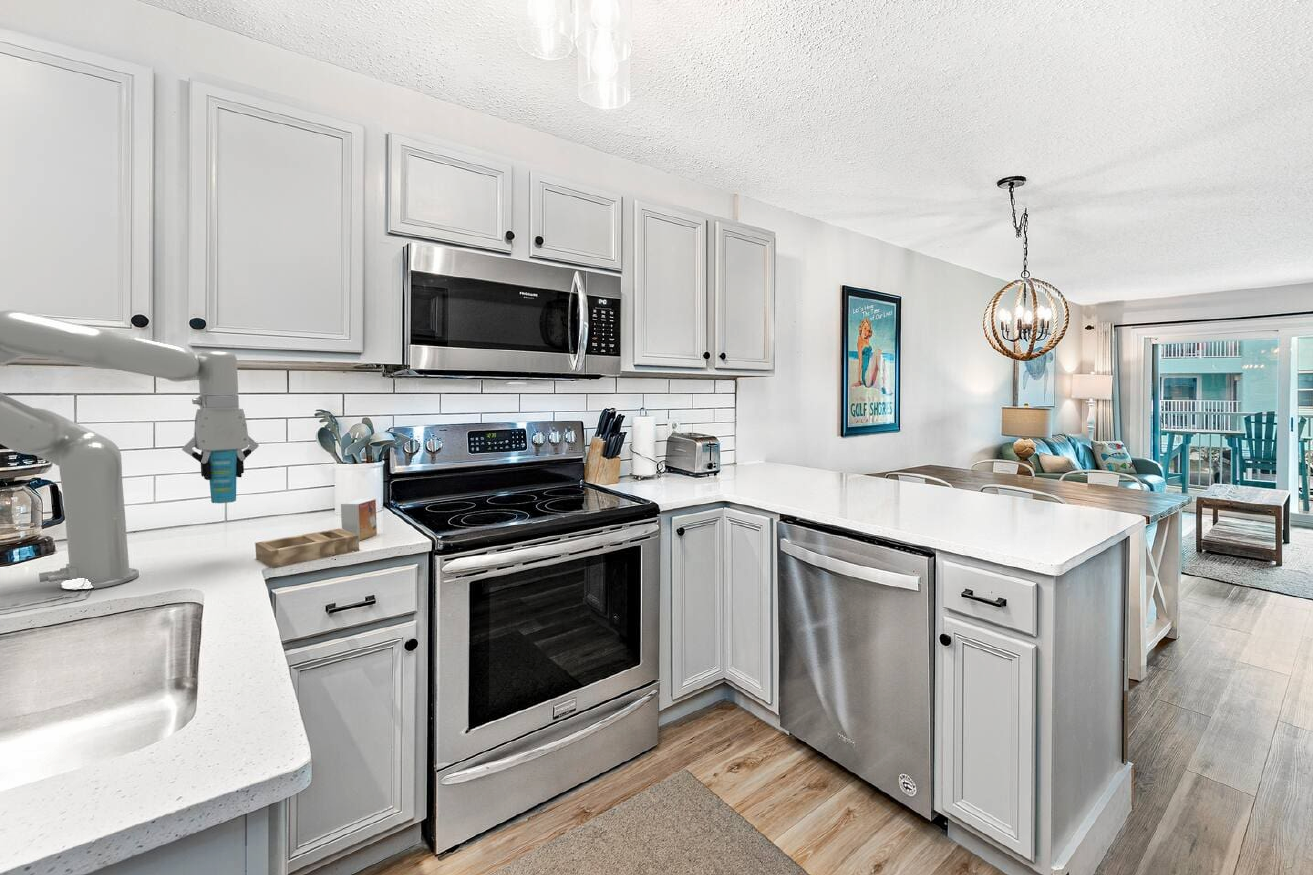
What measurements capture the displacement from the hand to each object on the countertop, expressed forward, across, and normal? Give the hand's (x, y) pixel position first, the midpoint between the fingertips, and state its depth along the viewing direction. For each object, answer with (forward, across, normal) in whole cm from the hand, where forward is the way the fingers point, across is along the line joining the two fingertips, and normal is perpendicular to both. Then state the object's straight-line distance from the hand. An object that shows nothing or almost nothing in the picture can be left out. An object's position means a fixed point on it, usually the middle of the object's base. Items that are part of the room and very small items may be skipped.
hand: (223, 477), depth 144 cm
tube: (+6, 0, 0) cm, 6 cm away
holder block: (+21, +16, -8) cm, 27 cm away
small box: (+21, +32, 0) cm, 38 cm away
